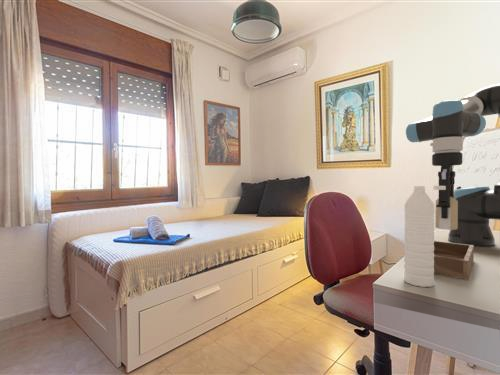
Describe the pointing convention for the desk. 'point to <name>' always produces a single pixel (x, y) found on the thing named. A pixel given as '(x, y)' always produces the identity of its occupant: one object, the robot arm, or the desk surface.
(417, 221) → the water bottle
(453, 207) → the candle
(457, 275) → the walnut box
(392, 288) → the desk surface
